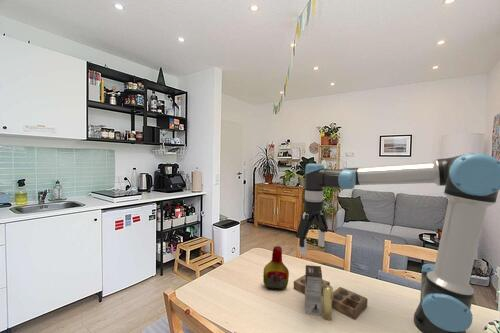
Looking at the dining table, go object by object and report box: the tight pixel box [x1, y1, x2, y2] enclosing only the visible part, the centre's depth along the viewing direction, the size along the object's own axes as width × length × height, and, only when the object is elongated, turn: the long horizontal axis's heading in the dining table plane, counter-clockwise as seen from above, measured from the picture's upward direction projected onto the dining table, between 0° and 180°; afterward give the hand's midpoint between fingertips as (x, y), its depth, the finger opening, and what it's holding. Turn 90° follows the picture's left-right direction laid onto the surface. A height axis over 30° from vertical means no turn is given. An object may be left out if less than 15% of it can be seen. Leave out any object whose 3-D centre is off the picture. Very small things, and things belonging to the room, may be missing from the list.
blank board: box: [332, 286, 368, 320], centre depth 100 cm, size 12×12×4 cm
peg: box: [321, 285, 334, 321], centre depth 93 cm, size 4×4×12 cm
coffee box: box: [304, 264, 323, 317], centre depth 98 cm, size 9×6×16 cm
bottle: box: [262, 245, 290, 291], centre depth 113 cm, size 12×6×20 cm, turn 76°
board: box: [293, 274, 331, 297], centre depth 113 cm, size 12×12×10 cm
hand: (312, 250), depth 101 cm, fingers open, 13 cm apart
